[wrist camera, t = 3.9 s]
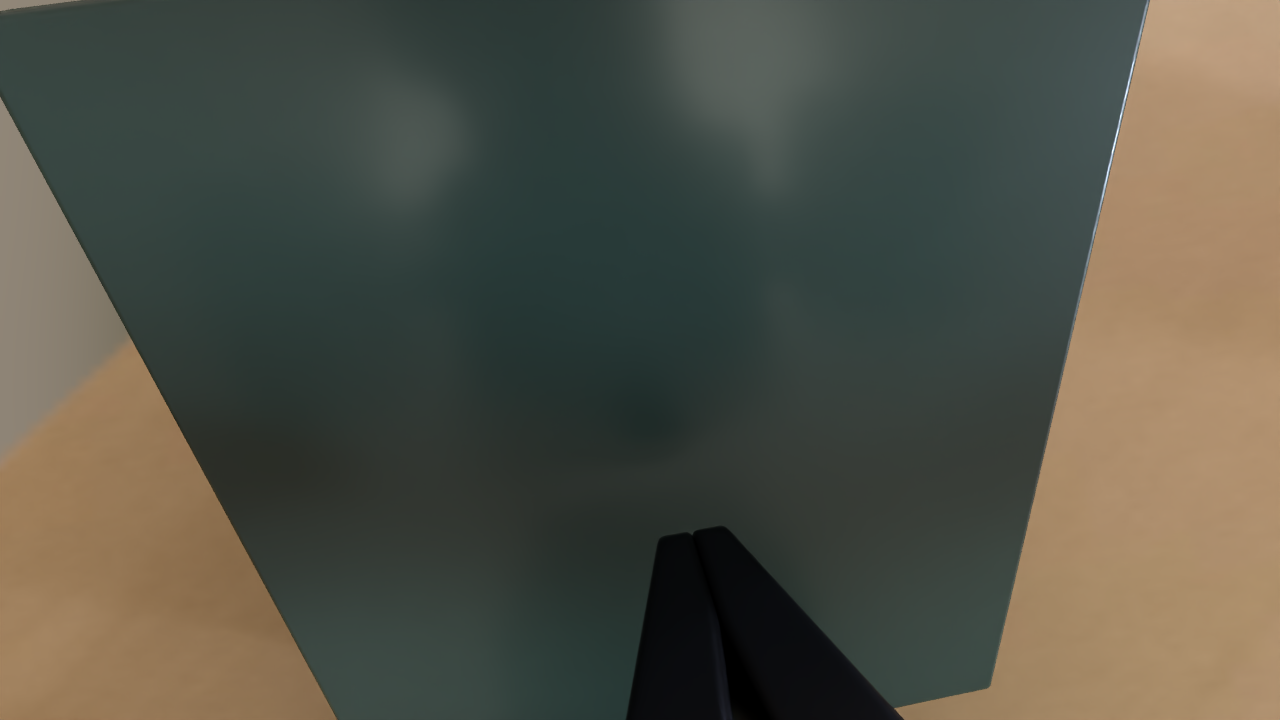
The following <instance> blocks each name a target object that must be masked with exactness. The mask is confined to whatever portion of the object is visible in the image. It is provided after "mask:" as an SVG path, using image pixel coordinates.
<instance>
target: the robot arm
mask: <svg viewBox="0 0 1280 720" xmlns="http://www.w3.org/2000/svg"><path fill="white" fill-rule="evenodd" d="M626 720H904V719H903V718H902V717H901V716H900V715H899V714H898V713H897V712H896V710H895V709H894V708H893V707H892V706H891V705H890V704H889V703H888V702H887V701H886V700H885V699H884V697H883V696H882V695H881V694H880V693H879V692H878V691H877V690H876V689H875V688H874V687H873V685H872V684H871V683H870V682H869V681H868V680H867V679H866V678H865V677H864V676H863V675H862V673H861V672H860V671H859V670H858V669H857V668H856V667H855V666H854V665H853V664H852V663H851V661H850V660H849V659H848V658H847V657H846V656H845V655H844V654H843V653H842V652H841V651H840V649H839V648H838V647H837V646H836V645H835V644H834V643H833V642H832V641H831V640H830V639H829V638H828V636H827V635H826V634H825V633H824V632H823V631H822V630H821V629H820V628H819V627H818V626H817V624H816V623H815V622H814V621H813V620H812V619H811V618H810V617H809V616H808V615H807V614H806V612H805V611H804V610H803V609H802V608H801V607H800V606H799V605H798V604H797V603H796V602H795V600H794V599H793V598H792V597H791V596H790V595H789V594H788V593H787V592H786V591H785V590H784V588H783V587H782V586H781V585H780V584H779V583H778V582H777V581H776V580H775V579H774V578H773V577H772V575H771V574H770V573H769V572H768V571H767V570H766V569H765V568H764V567H763V566H762V565H761V563H760V562H759V561H758V560H757V559H756V558H755V557H754V556H753V555H752V554H751V553H750V551H749V550H748V549H747V548H746V547H745V546H744V545H743V544H742V543H741V542H740V541H739V539H738V538H737V537H736V536H735V535H734V534H733V533H732V532H731V531H730V530H729V529H728V528H727V527H725V526H722V525H719V526H713V527H708V528H703V529H698V530H696V531H694V532H693V535H691V534H690V533H689V532H681V533H676V534H671V535H666V536H662V537H661V538H659V540H658V543H657V548H656V553H655V559H654V564H653V570H652V576H651V581H650V587H649V592H648V598H647V604H646V609H645V615H644V620H643V626H642V631H641V637H640V643H639V648H638V654H637V659H636V665H635V671H634V676H633V682H632V687H631V693H630V698H629V704H628V710H627V715H626Z"/></svg>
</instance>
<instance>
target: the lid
mask: <svg viewBox="0 0 1280 720" xmlns="http://www.w3.org/2000/svg"><path fill="white" fill-rule="evenodd" d="M1149 2H1150V0H80V1H73V2H64V3H56V4H49V5H41V6H33V7H26V8H17V9H10V10H5V11H0V97H1V99H2V101H3V102H4V104H5V106H6V108H7V110H8V111H9V114H10V115H11V117H12V119H13V121H14V123H15V125H16V127H17V128H18V130H19V132H20V134H21V136H22V138H23V139H24V141H25V143H26V145H27V147H28V149H29V151H30V152H31V154H32V156H33V158H34V160H35V162H36V164H37V165H38V167H39V169H40V171H41V172H42V174H43V176H44V178H45V180H46V182H47V184H48V185H49V187H50V189H51V191H52V193H53V195H54V197H55V198H56V200H57V202H58V204H59V206H60V208H61V210H62V212H63V213H64V215H65V217H66V219H67V221H68V223H69V225H70V226H71V228H72V230H73V232H74V234H75V235H76V237H77V239H78V241H79V243H80V245H81V247H82V248H83V250H84V252H85V254H86V256H87V258H88V260H89V261H90V263H91V265H92V267H93V269H94V271H95V273H96V274H97V276H98V278H99V280H100V282H101V284H102V285H103V287H104V289H105V291H106V293H107V294H108V297H109V298H110V300H111V302H112V304H113V306H114V308H115V310H116V311H117V313H118V315H119V317H120V319H121V321H122V322H123V324H124V326H125V328H126V330H127V332H128V334H129V335H130V337H131V339H132V341H133V343H134V345H135V346H136V348H137V350H138V352H139V354H140V356H141V358H142V359H143V361H144V363H145V365H146V367H147V369H148V370H149V372H150V374H151V376H152V378H153V380H154V382H155V383H156V385H157V387H158V389H159V391H160V393H161V395H162V396H163V398H164V400H165V402H166V404H167V406H168V407H169V409H170V411H171V413H172V415H173V417H174V419H175V420H176V422H177V424H178V426H179V428H180V430H181V431H182V433H183V435H184V437H185V439H186V441H187V443H188V444H189V446H190V448H191V450H192V452H193V454H194V455H195V457H196V459H197V461H198V463H199V465H200V467H201V468H202V470H203V472H204V474H205V476H206V478H207V480H208V481H209V483H210V485H211V487H212V489H213V491H214V492H215V494H216V496H217V498H218V500H219V502H220V504H221V505H222V507H223V509H224V511H225V513H226V515H227V516H228V518H229V520H230V522H231V524H232V526H233V528H234V529H235V531H236V533H237V535H238V537H239V539H240V540H241V542H242V544H243V546H244V548H245V550H246V552H247V553H248V555H249V557H250V559H251V561H252V563H253V565H254V566H255V568H256V570H257V572H258V574H259V576H260V577H261V579H262V581H263V583H264V585H265V587H266V589H267V590H268V592H269V594H270V596H271V598H272V600H273V601H274V603H275V605H276V607H277V609H278V611H279V613H280V614H281V616H282V618H283V620H284V622H285V624H286V625H287V627H288V629H289V631H290V633H291V635H292V637H293V638H294V640H295V642H296V644H297V646H298V648H299V650H300V651H301V653H302V655H303V657H304V659H305V661H306V662H307V664H308V666H309V668H310V670H311V672H312V674H313V675H314V677H315V679H316V681H317V683H318V685H319V686H320V688H321V690H322V692H323V694H324V696H325V698H326V699H327V701H328V703H329V705H330V707H331V709H332V710H333V712H334V714H335V716H336V718H337V720H626V715H627V710H628V704H629V698H630V693H631V687H632V682H633V676H634V671H635V665H636V659H637V654H638V648H639V643H640V637H641V631H642V626H643V620H644V615H645V609H646V604H647V598H648V592H649V587H650V581H651V576H652V570H653V564H654V559H655V553H656V548H657V543H658V540H659V538H661V537H662V536H666V535H671V534H676V533H681V532H689V533H690V534H691V535H693V532H694V531H696V530H698V529H703V528H708V527H713V526H719V525H722V526H725V527H727V528H728V529H729V530H730V531H731V532H732V533H733V534H734V535H735V536H736V537H737V538H738V539H739V541H740V542H741V543H742V544H743V545H744V546H745V547H746V548H747V549H748V550H749V551H750V553H751V554H752V555H753V556H754V557H755V558H756V559H757V560H758V561H759V562H760V563H761V565H762V566H763V567H764V568H765V569H766V570H767V571H768V572H769V573H770V574H771V575H772V577H773V578H774V579H775V580H776V581H777V582H778V583H779V584H780V585H781V586H782V587H783V588H784V590H785V591H786V592H787V593H788V594H789V595H790V596H791V597H792V598H793V599H794V600H795V602H796V603H797V604H798V605H799V606H800V607H801V608H802V609H803V610H804V611H805V612H806V614H807V615H808V616H809V617H810V618H811V619H812V620H813V621H814V622H815V623H816V624H817V626H818V627H819V628H820V629H821V630H822V631H823V632H824V633H825V634H826V635H827V636H828V638H829V639H830V640H831V641H832V642H833V643H834V644H835V645H836V646H837V647H838V648H839V649H840V651H841V652H842V653H843V654H844V655H845V656H846V657H847V658H848V659H849V660H850V661H851V663H852V664H853V665H854V666H855V667H856V668H857V669H858V670H859V671H860V672H861V673H862V675H863V676H864V677H865V678H866V679H867V680H868V681H869V682H870V683H871V684H872V685H873V687H874V688H875V689H876V690H877V691H878V692H879V693H880V694H881V695H882V696H883V697H884V699H885V700H886V701H887V702H888V703H889V704H890V705H891V706H892V707H893V708H897V707H902V706H906V705H911V704H916V703H921V702H925V701H930V700H935V699H940V698H944V697H949V696H954V695H959V694H963V693H968V692H973V691H977V690H982V689H987V688H989V687H990V685H991V681H992V676H993V672H994V668H995V663H996V659H997V655H998V650H999V646H1000V642H1001V638H1002V633H1003V629H1004V625H1005V620H1006V616H1007V612H1008V607H1009V603H1010V599H1011V595H1012V590H1013V586H1014V582H1015V577H1016V573H1017V569H1018V565H1019V560H1020V556H1021V552H1022V547H1023V543H1024V539H1025V534H1026V530H1027V526H1028V522H1029V517H1030V513H1031V509H1032V504H1033V500H1034V496H1035V491H1036V487H1037V483H1038V479H1039V474H1040V470H1041V466H1042V461H1043V457H1044V453H1045V448H1046V444H1047V440H1048V436H1049V431H1050V427H1051V423H1052V418H1053V414H1054V410H1055V406H1056V401H1057V397H1058V393H1059V388H1060V384H1061V380H1062V375H1063V371H1064V367H1065V363H1066V358H1067V354H1068V350H1069V345H1070V341H1071V337H1072V332H1073V328H1074V324H1075V320H1076V315H1077V311H1078V307H1079V302H1080V298H1081V294H1082V290H1083V285H1084V281H1085V277H1086V272H1087V268H1088V264H1089V259H1090V255H1091V251H1092V247H1093V242H1094V238H1095V234H1096V229H1097V225H1098V221H1099V216H1100V212H1101V208H1102V204H1103V199H1104V195H1105V191H1106V186H1107V182H1108V178H1109V174H1110V169H1111V165H1112V161H1113V156H1114V152H1115V148H1116V143H1117V139H1118V135H1119V131H1120V126H1121V122H1122V118H1123V113H1124V109H1125V105H1126V100H1127V96H1128V92H1129V88H1130V83H1131V79H1132V75H1133V70H1134V66H1135V62H1136V58H1137V53H1138V49H1139V45H1140V40H1141V36H1142V32H1143V27H1144V23H1145V19H1146V15H1147V10H1148V6H1149Z"/></svg>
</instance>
